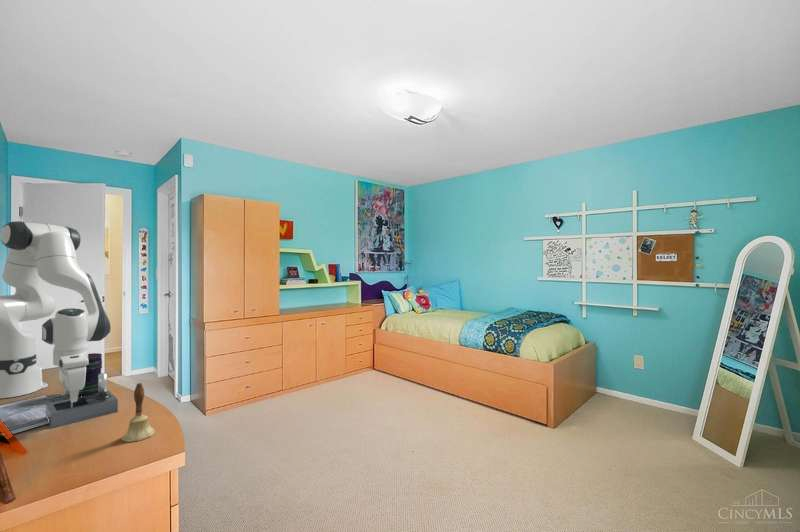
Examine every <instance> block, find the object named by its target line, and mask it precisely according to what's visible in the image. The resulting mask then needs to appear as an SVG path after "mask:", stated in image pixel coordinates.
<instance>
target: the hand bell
mask: <svg viewBox="0 0 800 532" xmlns="http://www.w3.org/2000/svg"><path fill="white" fill-rule="evenodd" d="M133 391H134V392H133V399H134V402H135V414H134V416H132V418H131V419H130V420H129V425H128V429H127V431H126V432H125V433H124V435H122V438H121V441H123V442H126V443H132V442H133V443H134V442H140V441H143V440H146V439H149V438H150V437H153V436H154V435H155V434H156V430H155V428H153V427H151V425H150V422H149V417H148V415H144V414H143V401H144V399H145V389H144V385H143V383H142V382H137V383H136V386H135V389H134V390H133Z"/></svg>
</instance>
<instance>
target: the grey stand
mask: <svg viewBox="0 0 800 532" xmlns="http://www.w3.org/2000/svg"><path fill="white" fill-rule="evenodd" d="M118 402H119V400H118V398H117V397H116V396H115V395H114V394H113V393H112V392H111V391H109V390H108V373H107V372H101V374H98V393H97V394H92V395H87V396H82V397H78V401H76V402H73V407H72V408H71V402H70V398H68V399H65V400H58V401H55V402H50V403H46V404H45V417H46V416H47V417H48V419H49V423H48V424H49V426H50V428H51V429H54V428H58V427H62V426H65V425H69V424H74V423H77V422H82V421H86V420H90V419H94V418H99V417H102V416H105V415H106V416H107V415H109V414H113V413H118V412H119V411H118V407H119V406H118V405H119V403H118Z"/></svg>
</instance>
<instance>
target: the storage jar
mask: <svg viewBox="0 0 800 532" xmlns="http://www.w3.org/2000/svg"><path fill="white" fill-rule="evenodd" d="M102 355H103V354H102V353H95V352H94V353H88V360H89V364H88V365H86V377H85V385H84V388H83V389H82V390H79V393H78V397H81V396H87V395H92V394H97V393H98V374H101V373H102V369H103V365H102V364H103V360H102V359H103V358H102V357H103V356H102Z"/></svg>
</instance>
